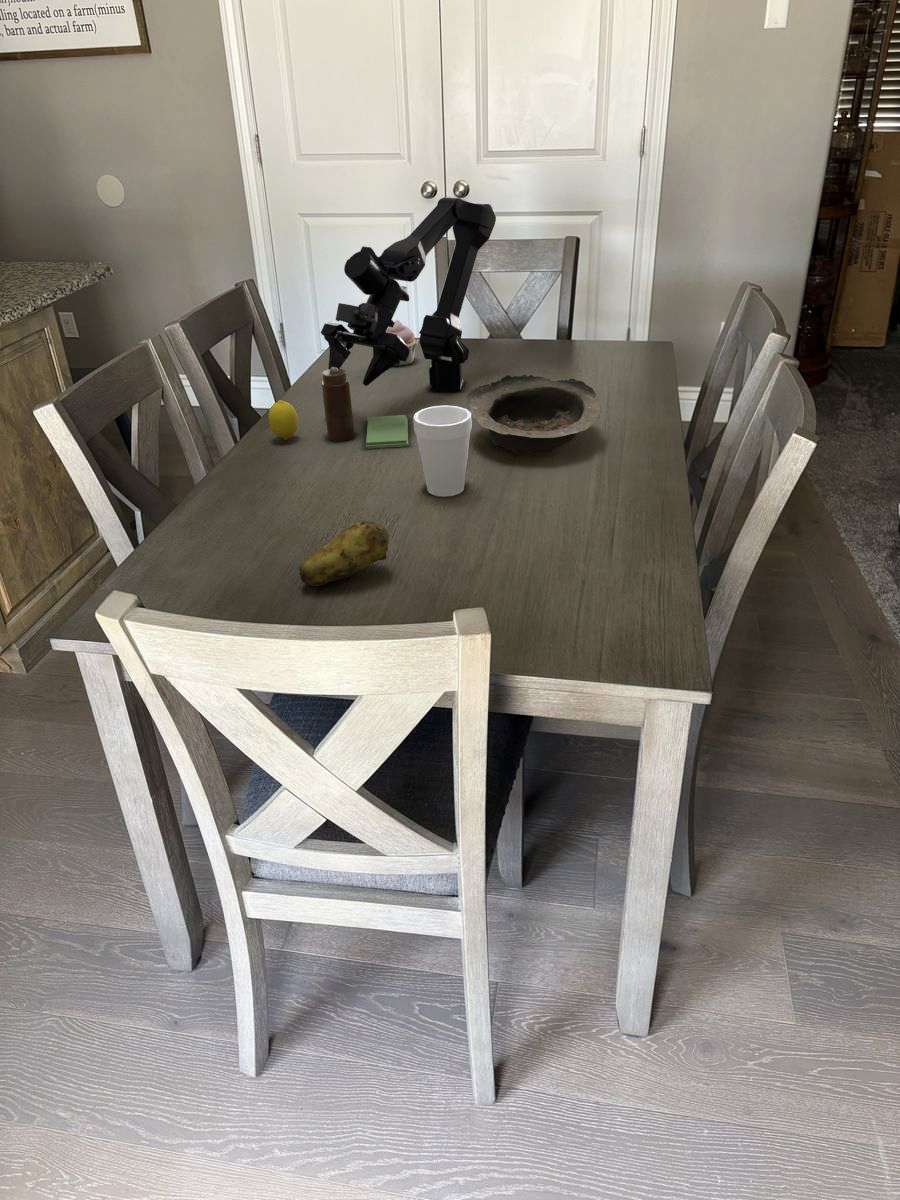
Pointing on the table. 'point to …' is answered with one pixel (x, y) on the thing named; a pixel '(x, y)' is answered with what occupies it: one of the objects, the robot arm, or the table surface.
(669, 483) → the table surface
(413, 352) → the cupcake
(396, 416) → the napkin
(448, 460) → the foam cup
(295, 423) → the lemon
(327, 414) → the pepper mill
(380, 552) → the potato
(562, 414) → the stone bowl
